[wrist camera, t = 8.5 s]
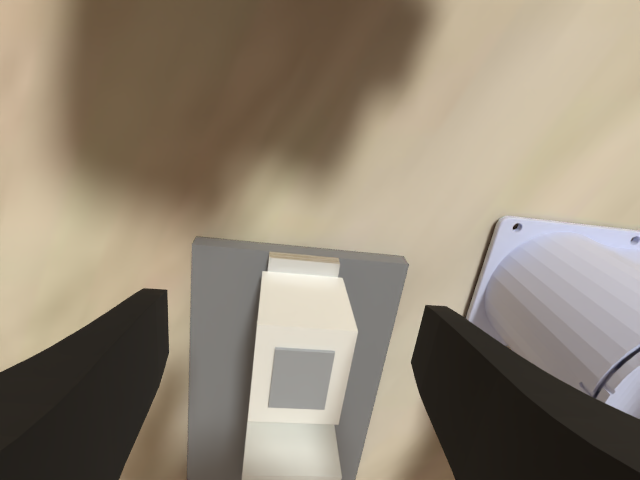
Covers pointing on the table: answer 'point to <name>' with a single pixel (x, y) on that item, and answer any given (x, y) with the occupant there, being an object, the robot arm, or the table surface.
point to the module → (290, 452)
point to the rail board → (237, 346)
